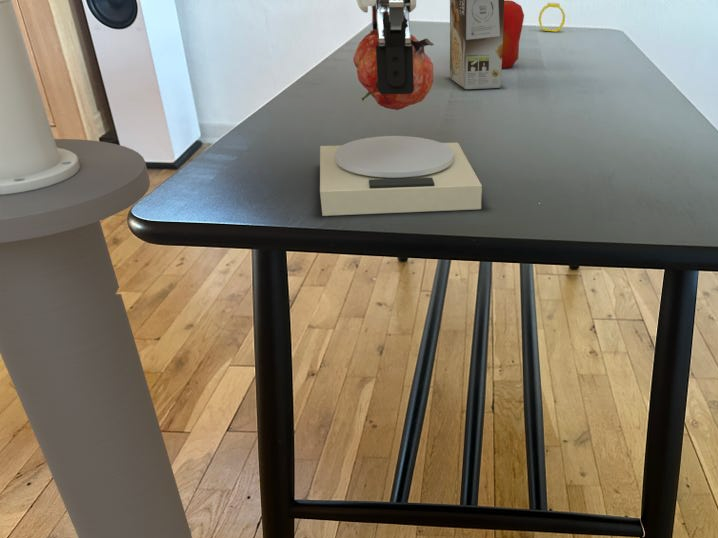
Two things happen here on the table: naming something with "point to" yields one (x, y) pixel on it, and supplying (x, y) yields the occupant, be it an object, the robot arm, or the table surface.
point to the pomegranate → (368, 72)
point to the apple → (511, 32)
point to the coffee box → (476, 43)
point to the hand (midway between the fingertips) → (392, 82)
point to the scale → (396, 177)
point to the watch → (552, 6)
